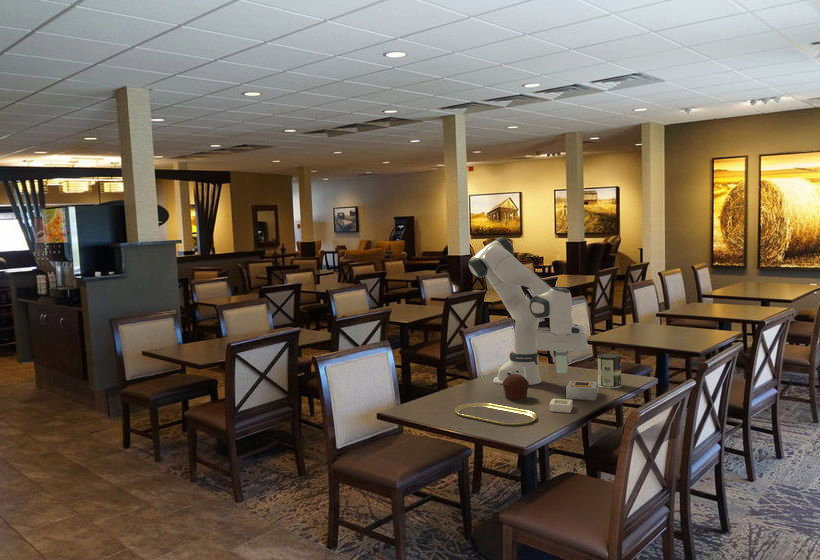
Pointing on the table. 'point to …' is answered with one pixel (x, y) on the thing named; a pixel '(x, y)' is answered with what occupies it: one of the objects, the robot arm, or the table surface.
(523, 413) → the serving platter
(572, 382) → the port
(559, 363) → the plug
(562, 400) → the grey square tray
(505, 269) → the robot arm
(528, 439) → the table surface
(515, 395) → the muffin
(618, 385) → the coffee can
